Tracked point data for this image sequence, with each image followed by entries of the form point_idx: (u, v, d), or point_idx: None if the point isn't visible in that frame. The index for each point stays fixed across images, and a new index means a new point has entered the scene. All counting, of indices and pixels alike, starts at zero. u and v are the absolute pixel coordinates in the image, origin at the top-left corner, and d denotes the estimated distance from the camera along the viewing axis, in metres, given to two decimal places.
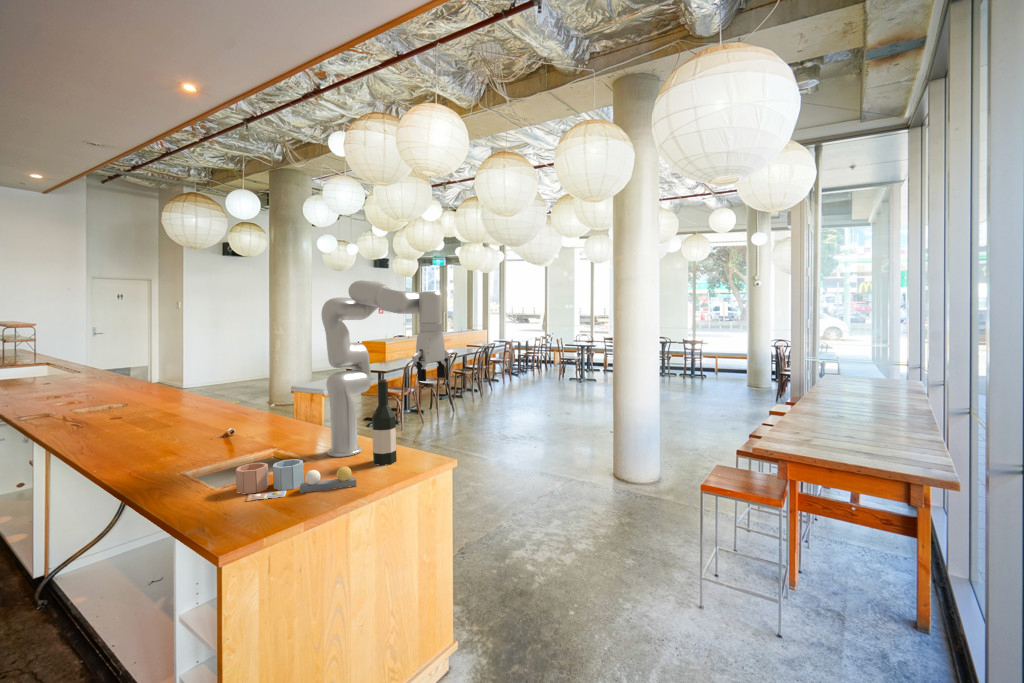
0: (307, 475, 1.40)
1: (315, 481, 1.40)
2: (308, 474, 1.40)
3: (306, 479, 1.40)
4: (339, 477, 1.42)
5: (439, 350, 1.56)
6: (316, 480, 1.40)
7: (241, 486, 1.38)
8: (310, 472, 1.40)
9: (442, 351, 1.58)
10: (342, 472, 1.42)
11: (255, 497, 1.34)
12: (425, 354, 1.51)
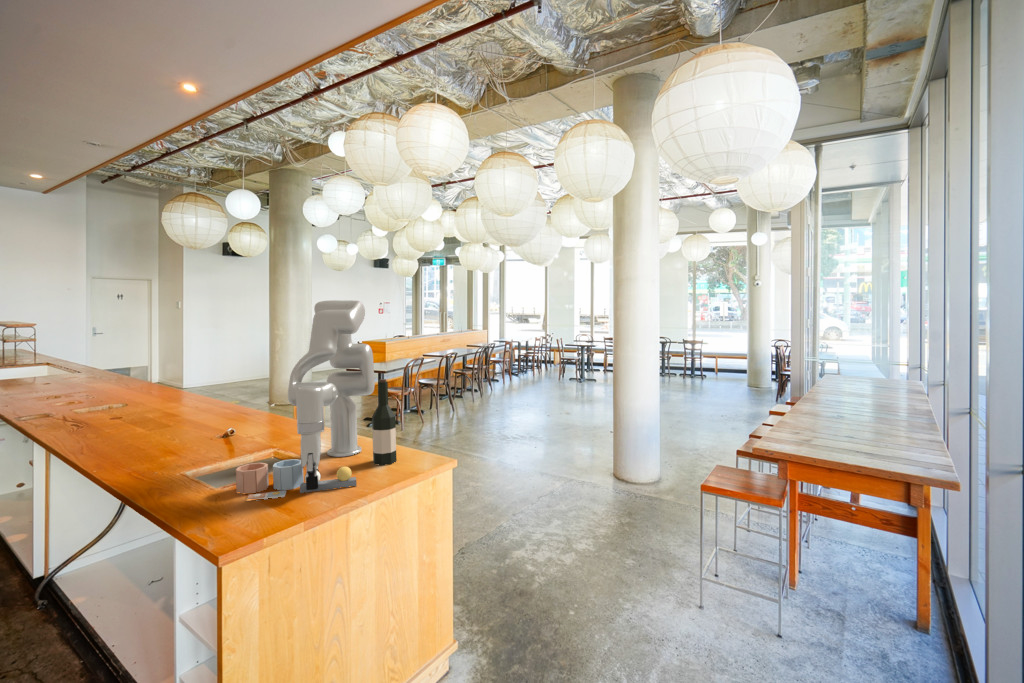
0: None
1: None
2: None
3: None
4: (339, 477, 1.42)
5: (320, 449, 1.43)
6: None
7: (241, 486, 1.38)
8: None
9: None
10: (342, 472, 1.42)
11: (255, 497, 1.34)
12: (316, 457, 1.37)
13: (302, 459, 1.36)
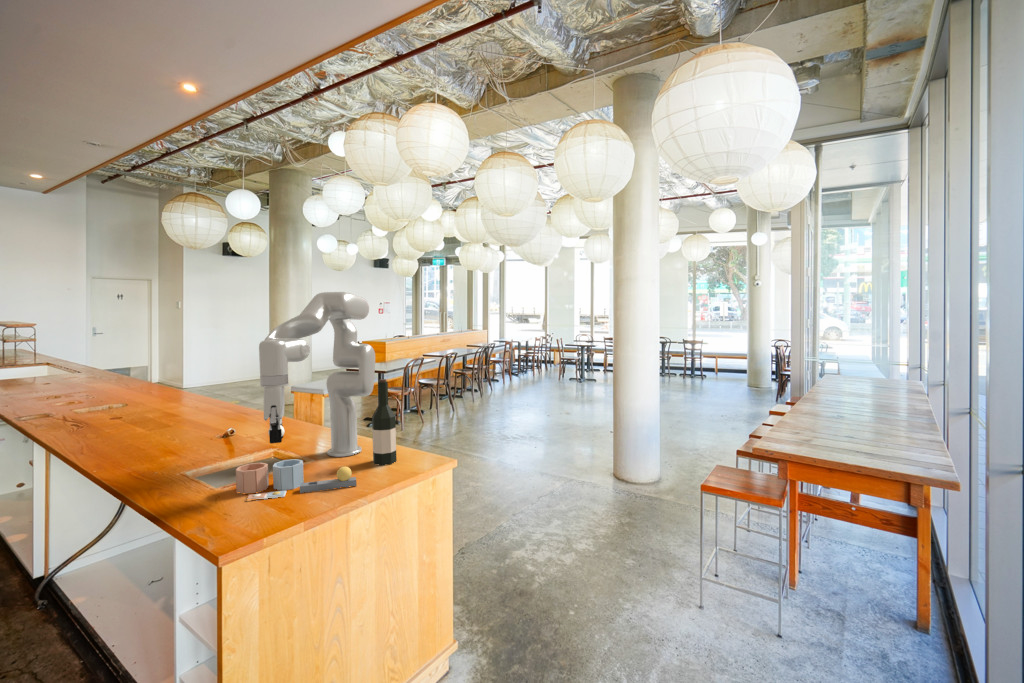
0: None
1: None
2: None
3: None
4: (339, 477, 1.42)
5: (284, 403, 1.43)
6: None
7: (241, 486, 1.38)
8: None
9: None
10: (342, 472, 1.42)
11: (255, 497, 1.34)
12: (280, 410, 1.37)
13: (265, 411, 1.35)
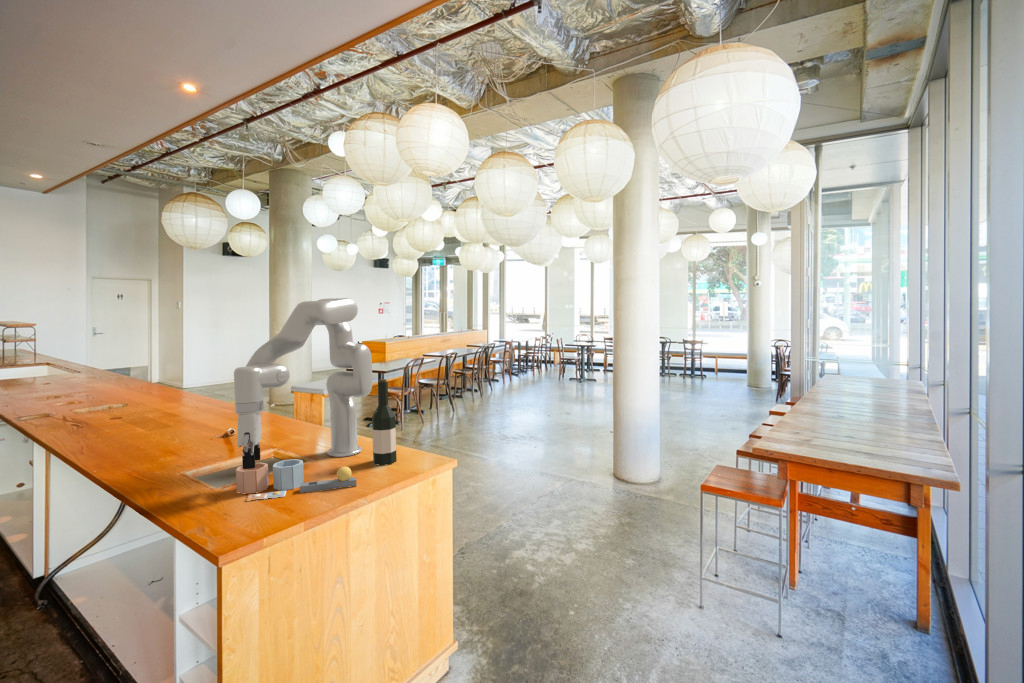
0: None
1: None
2: None
3: None
4: (339, 477, 1.42)
5: (260, 429, 1.44)
6: None
7: (241, 486, 1.38)
8: None
9: None
10: (342, 472, 1.42)
11: (255, 497, 1.34)
12: (253, 437, 1.38)
13: (238, 438, 1.36)
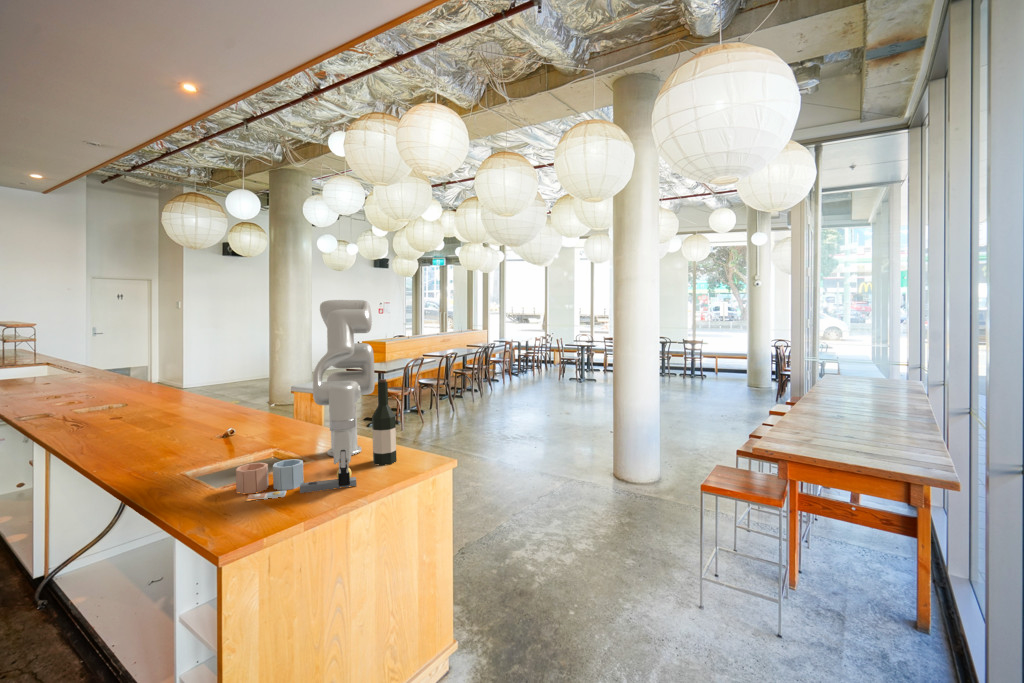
0: None
1: None
2: None
3: None
4: None
5: None
6: None
7: (241, 486, 1.38)
8: None
9: None
10: None
11: (255, 497, 1.34)
12: (349, 454, 1.40)
13: (335, 456, 1.39)
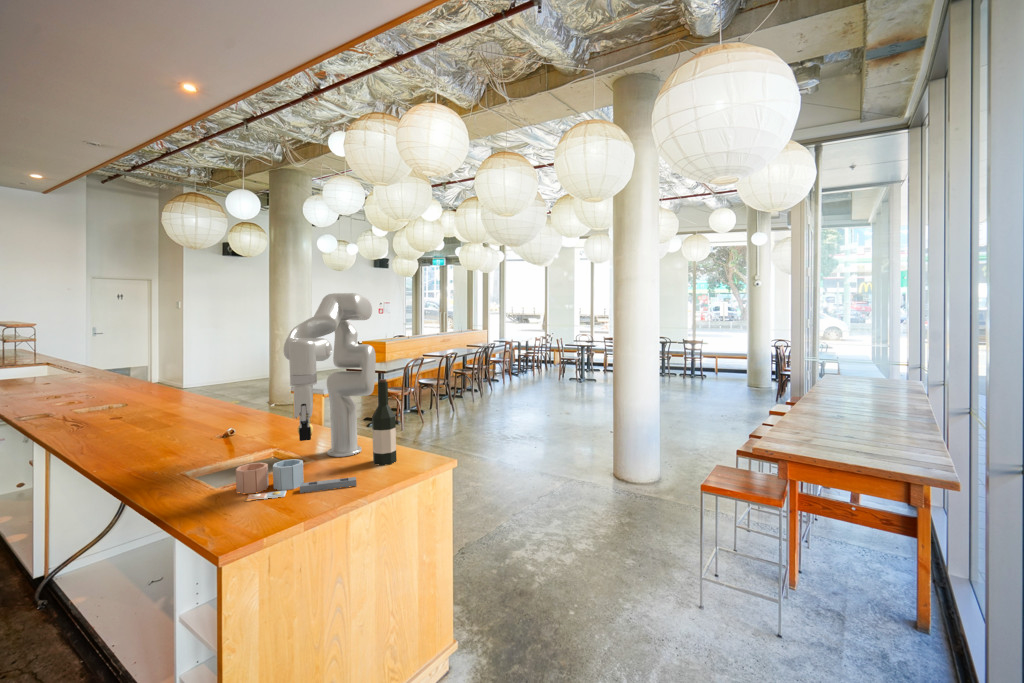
0: None
1: None
2: None
3: None
4: None
5: None
6: None
7: (241, 486, 1.38)
8: None
9: None
10: None
11: (255, 497, 1.34)
12: (309, 408, 1.40)
13: (295, 410, 1.39)
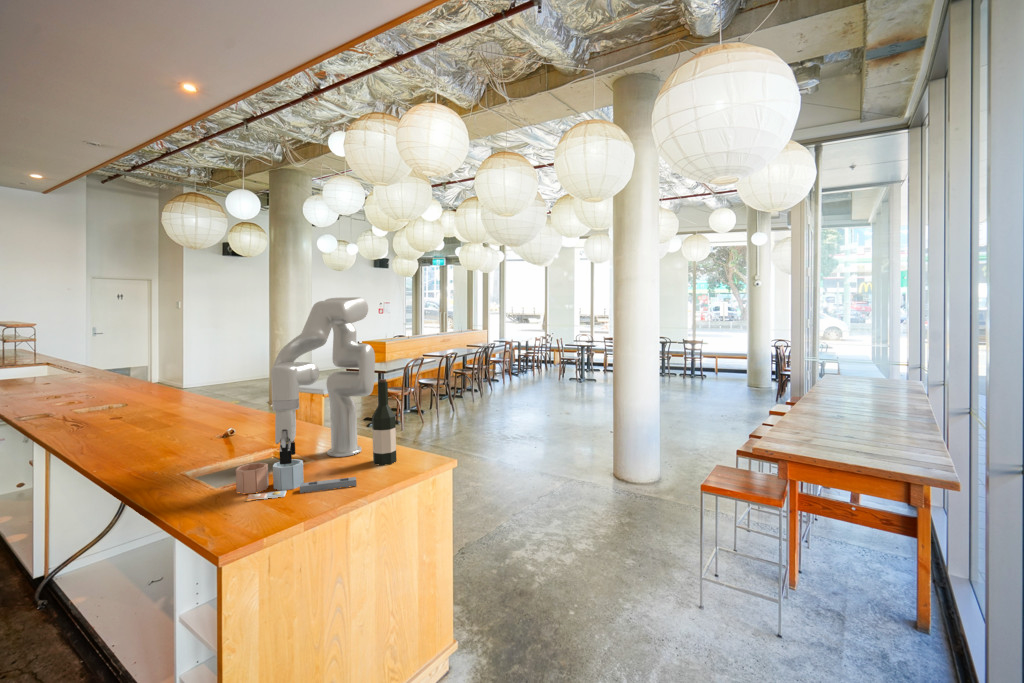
0: None
1: None
2: None
3: None
4: None
5: (295, 426, 1.47)
6: None
7: (241, 486, 1.38)
8: None
9: None
10: None
11: (255, 497, 1.34)
12: (291, 434, 1.41)
13: (276, 435, 1.40)
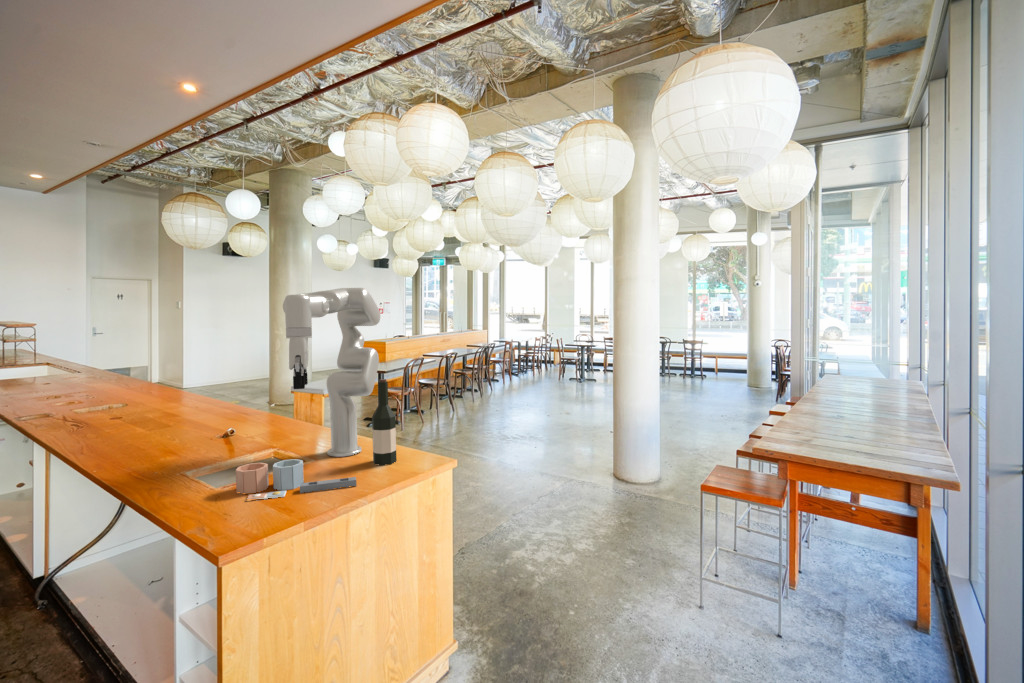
0: None
1: None
2: None
3: None
4: None
5: None
6: None
7: (241, 486, 1.38)
8: None
9: None
10: None
11: (255, 497, 1.34)
12: (304, 360, 1.45)
13: (290, 360, 1.44)
